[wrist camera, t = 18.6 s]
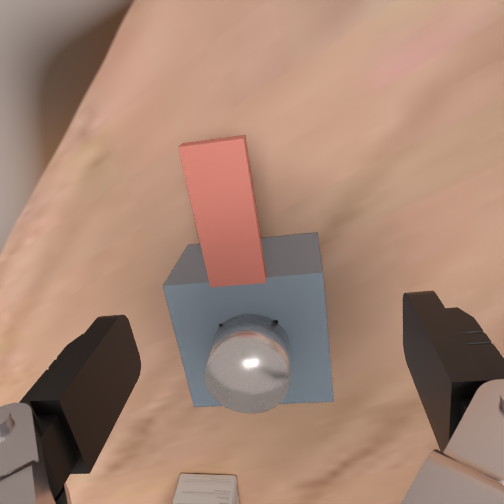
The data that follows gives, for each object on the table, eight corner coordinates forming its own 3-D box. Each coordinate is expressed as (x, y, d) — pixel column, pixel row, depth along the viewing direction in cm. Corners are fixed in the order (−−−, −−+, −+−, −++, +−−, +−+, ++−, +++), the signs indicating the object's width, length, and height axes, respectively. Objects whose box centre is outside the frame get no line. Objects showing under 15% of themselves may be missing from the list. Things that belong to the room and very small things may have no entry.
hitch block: (326, 343, 41) (333, 401, 34) (211, 350, 43) (194, 407, 36) (317, 232, 37) (322, 272, 29) (187, 245, 38) (162, 286, 31)
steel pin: (293, 325, 40) (293, 411, 30) (233, 329, 40) (212, 414, 30) (287, 269, 37) (284, 343, 27) (222, 275, 38) (197, 348, 28)
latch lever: (266, 275, 29) (265, 282, 29) (212, 280, 30) (210, 287, 29) (245, 134, 25) (243, 138, 24) (182, 143, 26) (178, 147, 25)
